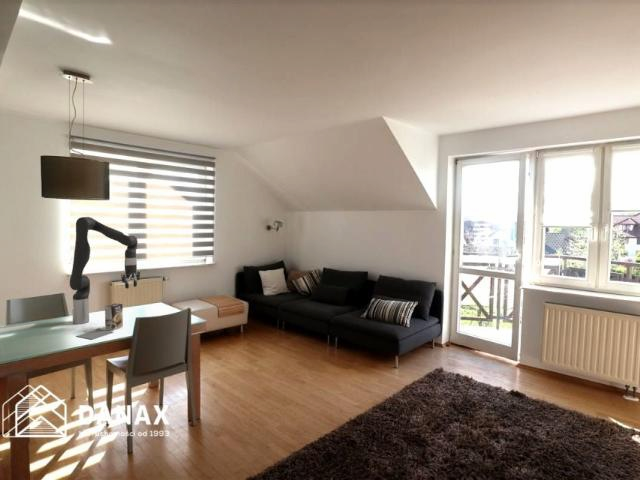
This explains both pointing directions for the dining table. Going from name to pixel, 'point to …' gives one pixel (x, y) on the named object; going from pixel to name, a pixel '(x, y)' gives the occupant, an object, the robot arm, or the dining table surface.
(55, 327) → the dining table surface
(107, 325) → the coffee box
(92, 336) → the mat
